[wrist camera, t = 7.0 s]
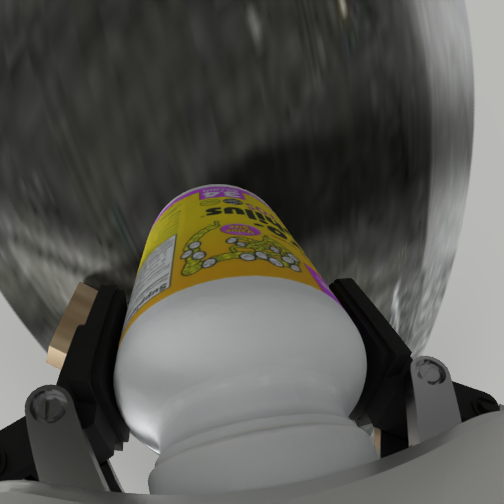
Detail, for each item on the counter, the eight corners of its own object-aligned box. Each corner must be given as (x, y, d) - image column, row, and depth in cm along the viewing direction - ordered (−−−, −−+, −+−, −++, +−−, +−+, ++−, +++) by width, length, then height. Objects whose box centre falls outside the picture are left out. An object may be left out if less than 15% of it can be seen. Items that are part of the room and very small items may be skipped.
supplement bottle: (304, 231, 16) (467, 445, 5) (226, 317, 17) (279, 544, 6) (201, 151, 13) (266, 416, 2) (125, 258, 15) (64, 523, 3)
